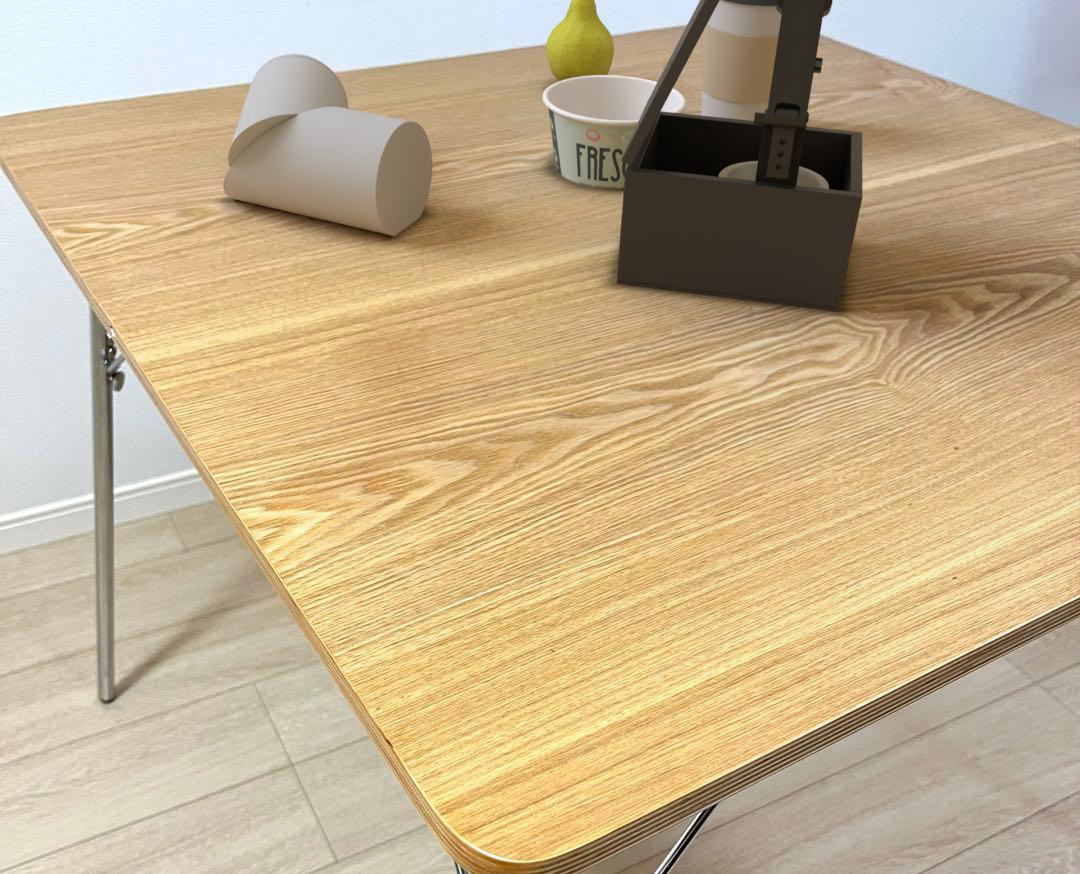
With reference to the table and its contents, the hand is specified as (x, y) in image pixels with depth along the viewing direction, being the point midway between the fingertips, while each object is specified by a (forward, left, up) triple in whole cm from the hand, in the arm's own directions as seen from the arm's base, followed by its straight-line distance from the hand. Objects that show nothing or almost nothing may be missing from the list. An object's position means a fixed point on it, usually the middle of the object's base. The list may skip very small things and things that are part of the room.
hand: (774, 191), depth 81 cm
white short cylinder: (0, 0, -5) cm, 5 cm away
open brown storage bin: (+2, 0, -6) cm, 6 cm away
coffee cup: (+4, -29, -6) cm, 29 cm away
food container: (+14, -16, -6) cm, 22 cm away
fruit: (+21, -38, -6) cm, 44 cm away
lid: (+6, 0, +11) cm, 12 cm away
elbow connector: (+36, -5, -6) cm, 37 cm away
